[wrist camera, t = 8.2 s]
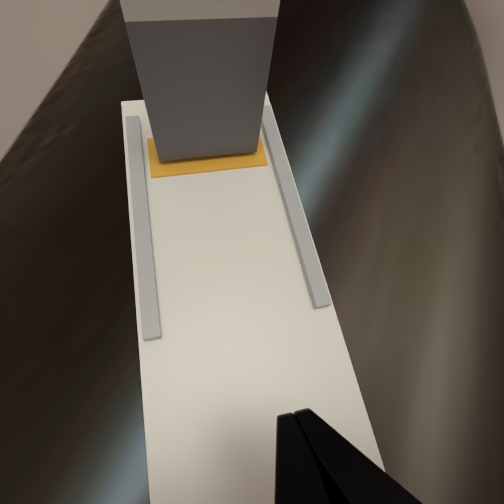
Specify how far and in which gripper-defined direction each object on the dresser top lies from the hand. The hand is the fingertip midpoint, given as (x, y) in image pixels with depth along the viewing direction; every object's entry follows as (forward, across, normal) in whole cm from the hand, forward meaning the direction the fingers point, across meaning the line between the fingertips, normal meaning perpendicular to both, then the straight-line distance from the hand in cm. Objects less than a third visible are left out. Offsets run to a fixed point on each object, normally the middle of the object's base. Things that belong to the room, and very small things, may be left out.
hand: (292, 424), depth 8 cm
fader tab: (+16, 0, -6) cm, 17 cm away
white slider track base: (+13, 0, +1) cm, 13 cm away
